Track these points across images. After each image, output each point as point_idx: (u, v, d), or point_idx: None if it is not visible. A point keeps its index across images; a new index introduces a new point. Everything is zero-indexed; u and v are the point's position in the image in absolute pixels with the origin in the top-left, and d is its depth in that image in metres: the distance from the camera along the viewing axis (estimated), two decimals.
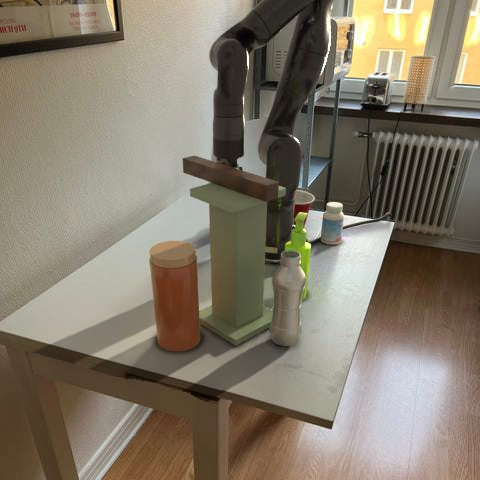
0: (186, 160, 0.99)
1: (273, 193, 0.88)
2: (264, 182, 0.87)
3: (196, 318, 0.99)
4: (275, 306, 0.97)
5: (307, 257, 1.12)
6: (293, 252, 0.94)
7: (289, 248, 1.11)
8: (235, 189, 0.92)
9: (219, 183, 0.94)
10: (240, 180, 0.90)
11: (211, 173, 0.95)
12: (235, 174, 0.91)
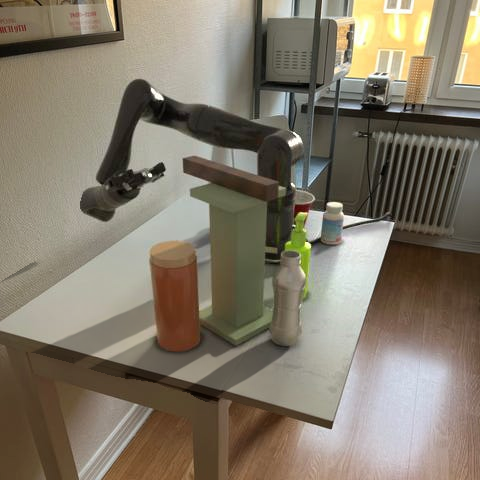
0: (186, 160, 0.99)
1: (273, 193, 0.88)
2: (264, 182, 0.87)
3: (196, 318, 0.99)
4: (275, 306, 0.97)
5: (307, 257, 1.12)
6: (293, 252, 0.94)
7: (289, 248, 1.11)
8: (235, 189, 0.92)
9: (219, 183, 0.94)
10: (240, 180, 0.90)
11: (211, 173, 0.95)
12: (235, 174, 0.91)
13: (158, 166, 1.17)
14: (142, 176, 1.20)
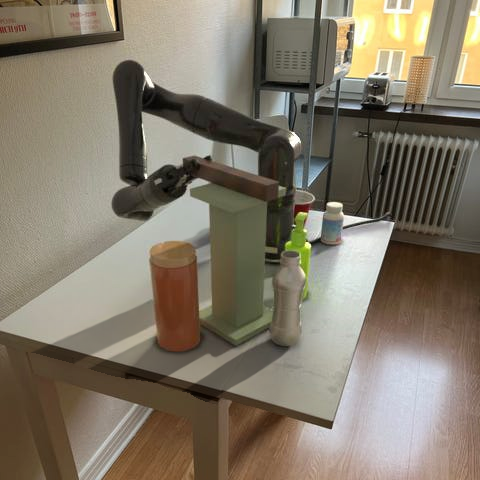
0: (186, 160, 0.99)
1: (273, 193, 0.88)
2: (264, 182, 0.87)
3: (196, 318, 0.99)
4: (275, 306, 0.97)
5: (307, 257, 1.12)
6: (293, 252, 0.94)
7: (289, 248, 1.11)
8: (235, 189, 0.92)
9: (219, 183, 0.94)
10: (240, 180, 0.90)
11: (211, 173, 0.95)
12: (235, 174, 0.91)
13: None
14: None
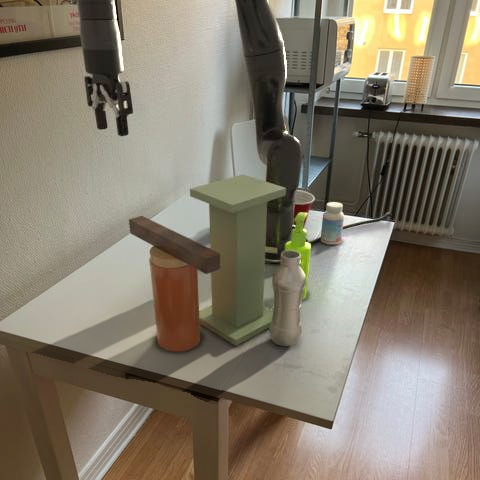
0: (132, 222, 0.96)
1: (214, 265, 0.85)
2: (205, 254, 0.84)
3: (196, 318, 0.99)
4: (275, 306, 0.97)
5: (307, 257, 1.12)
6: (293, 252, 0.94)
7: (289, 248, 1.11)
8: (178, 257, 0.89)
9: (163, 249, 0.92)
10: (181, 250, 0.87)
11: (155, 238, 0.92)
12: (177, 242, 0.88)
13: (104, 122, 1.07)
14: None
